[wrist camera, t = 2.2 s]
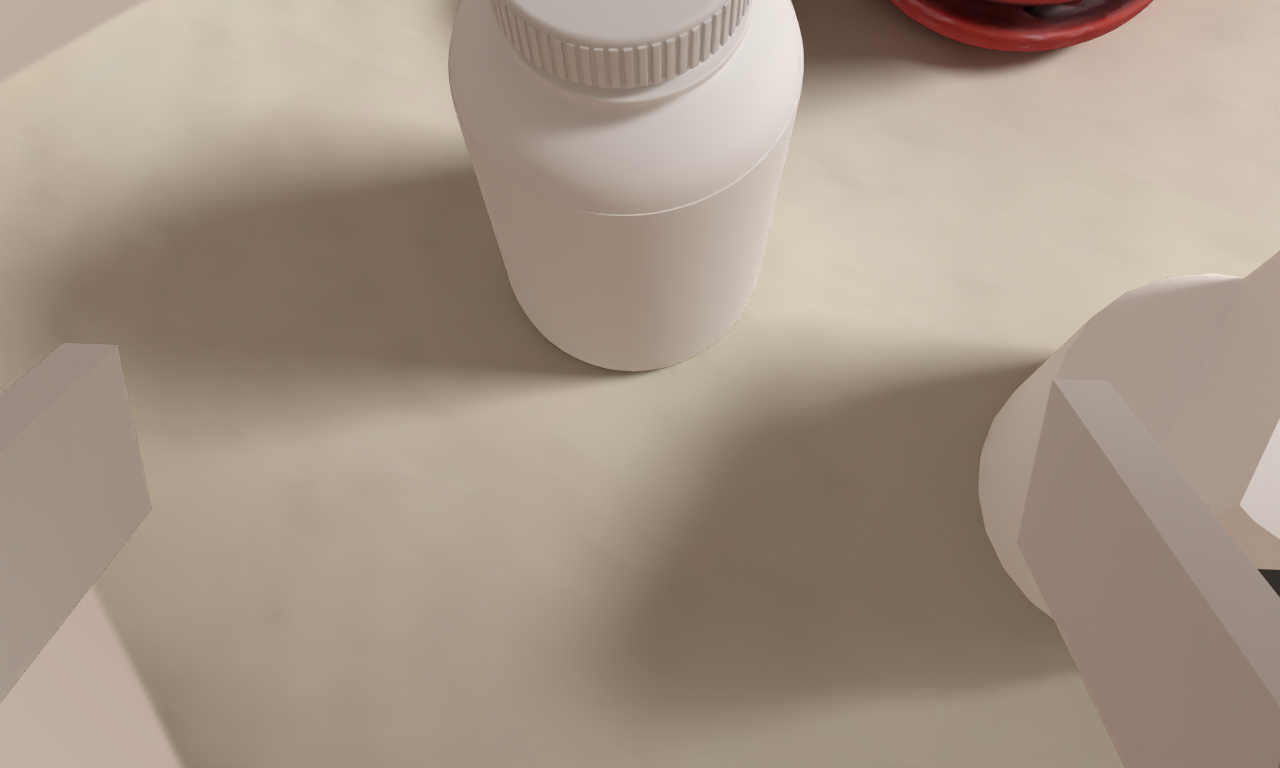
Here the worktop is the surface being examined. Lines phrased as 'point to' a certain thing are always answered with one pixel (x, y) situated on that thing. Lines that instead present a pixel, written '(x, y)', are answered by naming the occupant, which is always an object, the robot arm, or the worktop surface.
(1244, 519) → the cylinder with rectangular tab
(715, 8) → the pill bottle
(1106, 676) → the robot arm
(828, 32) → the worktop surface
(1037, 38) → the plant pot
